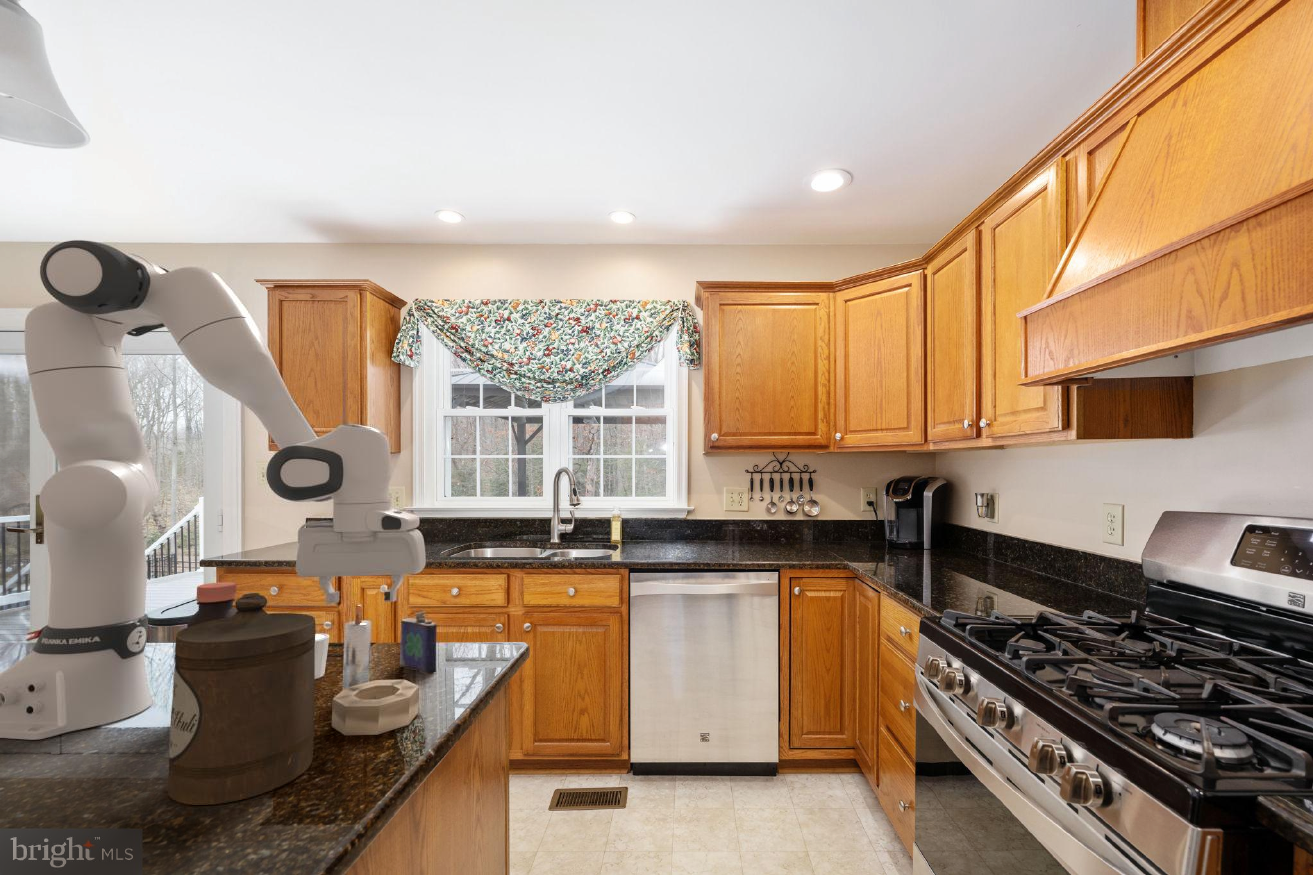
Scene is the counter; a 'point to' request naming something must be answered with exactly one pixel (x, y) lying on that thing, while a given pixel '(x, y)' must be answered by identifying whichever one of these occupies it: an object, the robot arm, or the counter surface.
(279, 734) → the wooden container
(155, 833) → the counter surface
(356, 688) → the bead
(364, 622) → the white candle
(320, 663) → the white short cylinder
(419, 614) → the flask
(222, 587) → the bottle
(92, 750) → the counter surface
